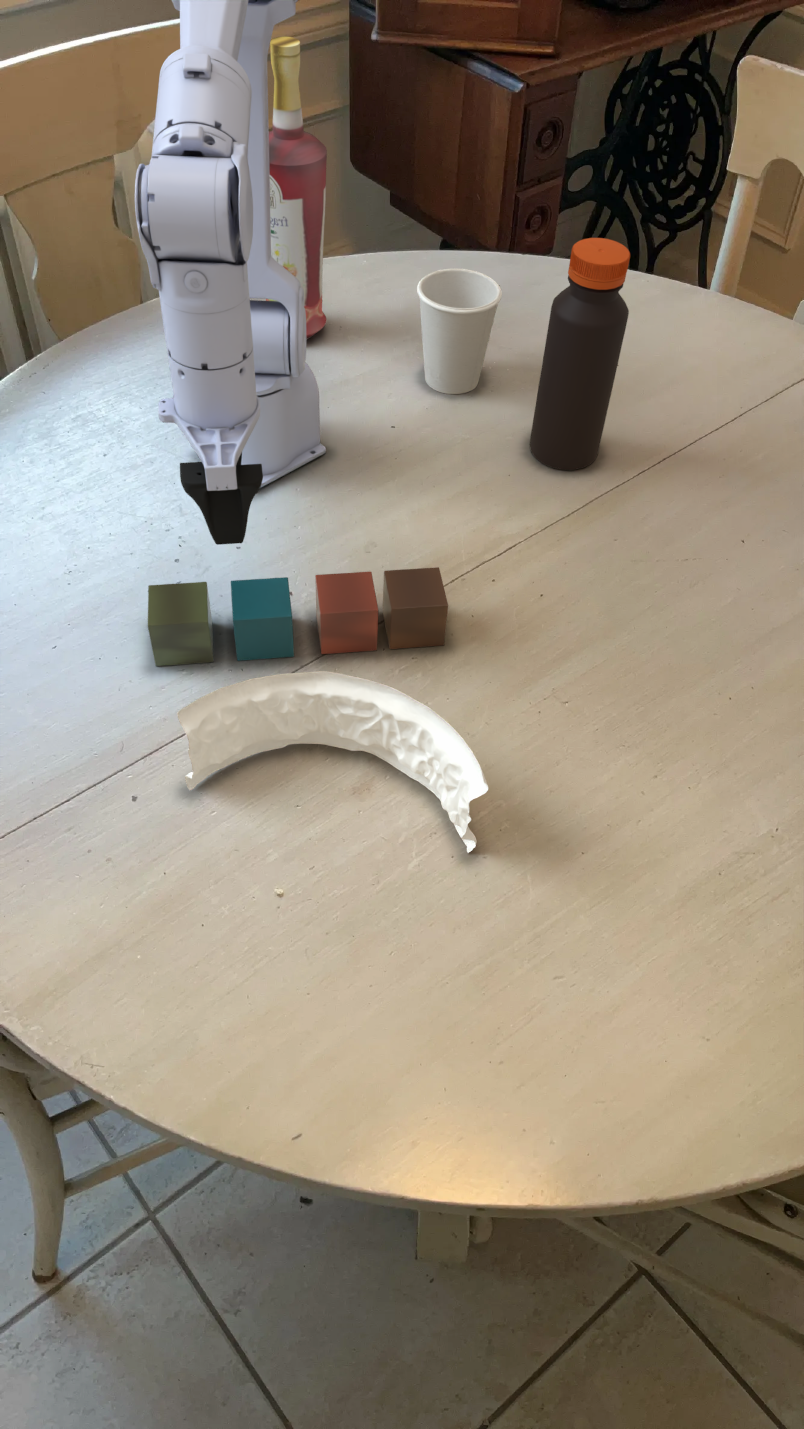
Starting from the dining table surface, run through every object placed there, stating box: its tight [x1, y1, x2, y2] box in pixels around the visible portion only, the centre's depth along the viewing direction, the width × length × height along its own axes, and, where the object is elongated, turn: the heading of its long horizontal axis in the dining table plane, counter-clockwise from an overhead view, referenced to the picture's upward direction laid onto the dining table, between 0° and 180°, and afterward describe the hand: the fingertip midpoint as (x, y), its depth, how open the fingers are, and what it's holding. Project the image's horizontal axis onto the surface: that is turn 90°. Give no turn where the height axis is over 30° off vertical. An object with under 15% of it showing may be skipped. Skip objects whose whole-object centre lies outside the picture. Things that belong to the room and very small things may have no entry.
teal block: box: [230, 576, 295, 662], centre depth 83 cm, size 4×4×4 cm
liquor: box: [265, 36, 328, 340], centre depth 105 cm, size 7×7×28 cm
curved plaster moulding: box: [176, 670, 489, 854], centre depth 72 cm, size 11×20×8 cm, turn 97°
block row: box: [147, 566, 449, 667], centre depth 84 cm, size 23×4×4 cm, turn 98°
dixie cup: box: [416, 268, 503, 395], centre depth 107 cm, size 8×8×10 cm
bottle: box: [528, 237, 631, 471], centre depth 96 cm, size 7×7×20 cm
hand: (227, 508), depth 81 cm, fingers open, 7 cm apart
